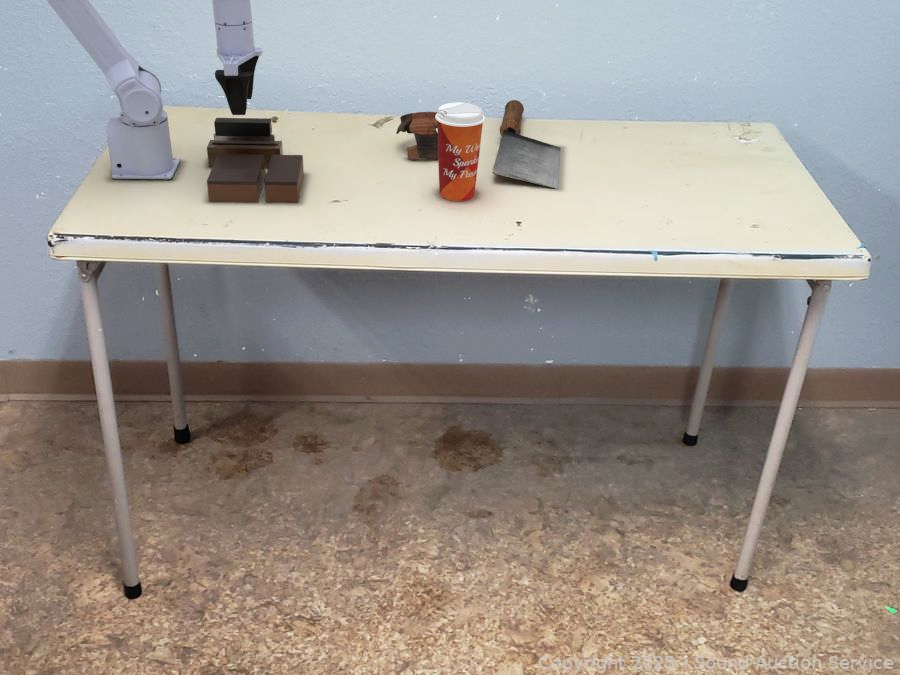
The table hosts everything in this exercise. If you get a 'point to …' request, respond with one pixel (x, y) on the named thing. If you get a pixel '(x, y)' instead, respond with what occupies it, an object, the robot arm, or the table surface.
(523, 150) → the meat cleaver
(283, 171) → the brown rectangular block
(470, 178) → the paper cup
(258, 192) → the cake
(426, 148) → the brown irregular chunky piece
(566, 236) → the table surface
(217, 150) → the knife block
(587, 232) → the table surface
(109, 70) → the robot arm
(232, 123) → the bench scraper
